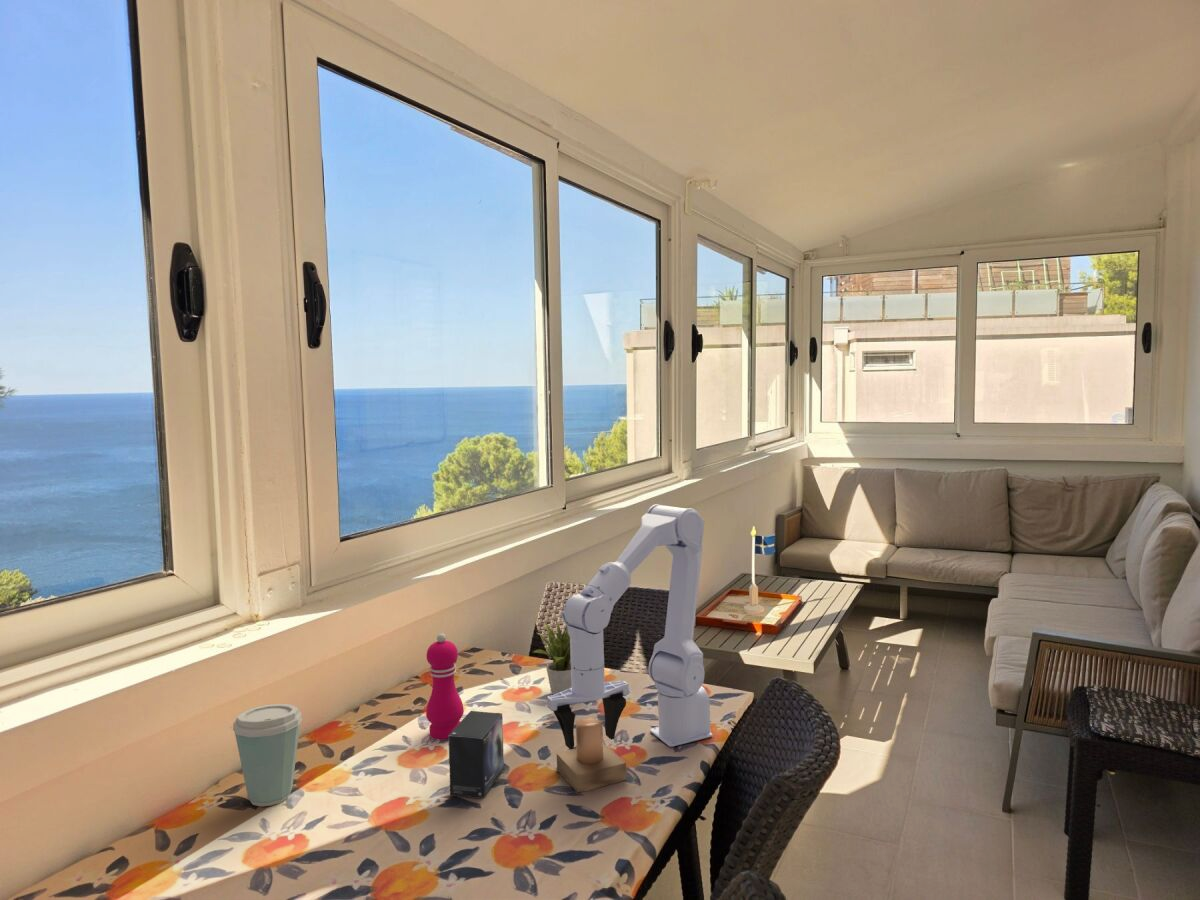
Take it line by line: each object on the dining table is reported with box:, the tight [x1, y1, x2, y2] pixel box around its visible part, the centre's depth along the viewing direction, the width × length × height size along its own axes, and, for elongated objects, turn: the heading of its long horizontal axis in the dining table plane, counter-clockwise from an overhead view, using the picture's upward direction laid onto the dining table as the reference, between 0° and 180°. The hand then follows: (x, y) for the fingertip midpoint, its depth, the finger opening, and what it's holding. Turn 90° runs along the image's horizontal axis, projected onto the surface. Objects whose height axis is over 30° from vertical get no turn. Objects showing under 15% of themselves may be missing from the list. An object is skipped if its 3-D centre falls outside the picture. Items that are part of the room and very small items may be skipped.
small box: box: [448, 710, 505, 799], centre depth 134 cm, size 11×6×10 cm, turn 168°
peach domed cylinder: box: [575, 717, 604, 764], centre depth 136 cm, size 5×5×6 cm
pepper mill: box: [425, 633, 465, 741], centre depth 154 cm, size 7×7×20 cm
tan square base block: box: [556, 742, 627, 794], centre depth 136 cm, size 9×9×3 cm
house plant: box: [533, 620, 572, 695], centre depth 171 cm, size 14×14×16 cm
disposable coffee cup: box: [232, 703, 303, 807], centre depth 131 cm, size 11×11×15 cm
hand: (590, 741), depth 136 cm, fingers open, 7 cm apart
